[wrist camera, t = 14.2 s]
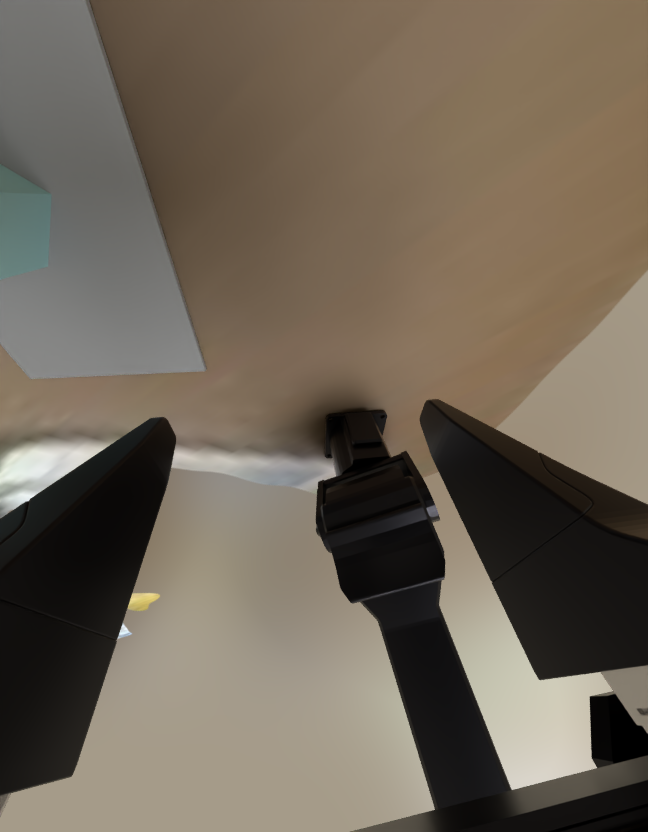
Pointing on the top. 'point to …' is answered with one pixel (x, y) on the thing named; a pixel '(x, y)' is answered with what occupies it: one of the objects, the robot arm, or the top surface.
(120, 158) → the placemat
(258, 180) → the top surface
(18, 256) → the mint green pillar
